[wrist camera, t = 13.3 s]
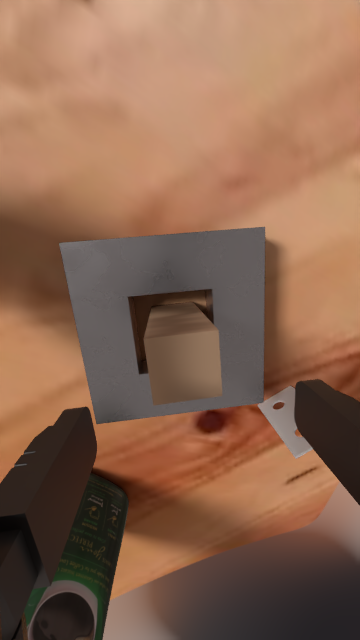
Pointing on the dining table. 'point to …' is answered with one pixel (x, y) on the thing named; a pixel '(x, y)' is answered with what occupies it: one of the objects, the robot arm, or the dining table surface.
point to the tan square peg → (182, 354)
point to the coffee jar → (82, 569)
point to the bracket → (285, 420)
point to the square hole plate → (166, 277)
